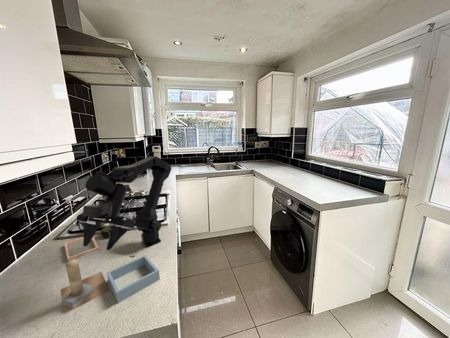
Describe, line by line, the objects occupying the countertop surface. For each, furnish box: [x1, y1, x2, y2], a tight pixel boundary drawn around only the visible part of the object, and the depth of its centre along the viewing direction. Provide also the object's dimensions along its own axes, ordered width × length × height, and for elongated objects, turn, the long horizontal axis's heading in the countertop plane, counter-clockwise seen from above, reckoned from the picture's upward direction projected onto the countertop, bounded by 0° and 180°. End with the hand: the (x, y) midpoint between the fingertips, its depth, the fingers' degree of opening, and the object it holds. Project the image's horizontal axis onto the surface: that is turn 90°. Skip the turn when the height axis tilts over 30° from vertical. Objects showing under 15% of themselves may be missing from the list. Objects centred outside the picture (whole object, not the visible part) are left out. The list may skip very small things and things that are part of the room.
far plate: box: [60, 271, 110, 315], centre depth 60 cm, size 11×12×1 cm
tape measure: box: [100, 225, 112, 238], centre depth 95 cm, size 7×7×4 cm
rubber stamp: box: [61, 259, 94, 310], centre depth 56 cm, size 6×4×12 cm, turn 162°
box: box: [106, 254, 161, 304], centre depth 63 cm, size 13×12×4 cm
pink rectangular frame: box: [63, 236, 100, 262], centre depth 85 cm, size 11×16×2 cm
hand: (96, 248), depth 61 cm, fingers open, 9 cm apart
